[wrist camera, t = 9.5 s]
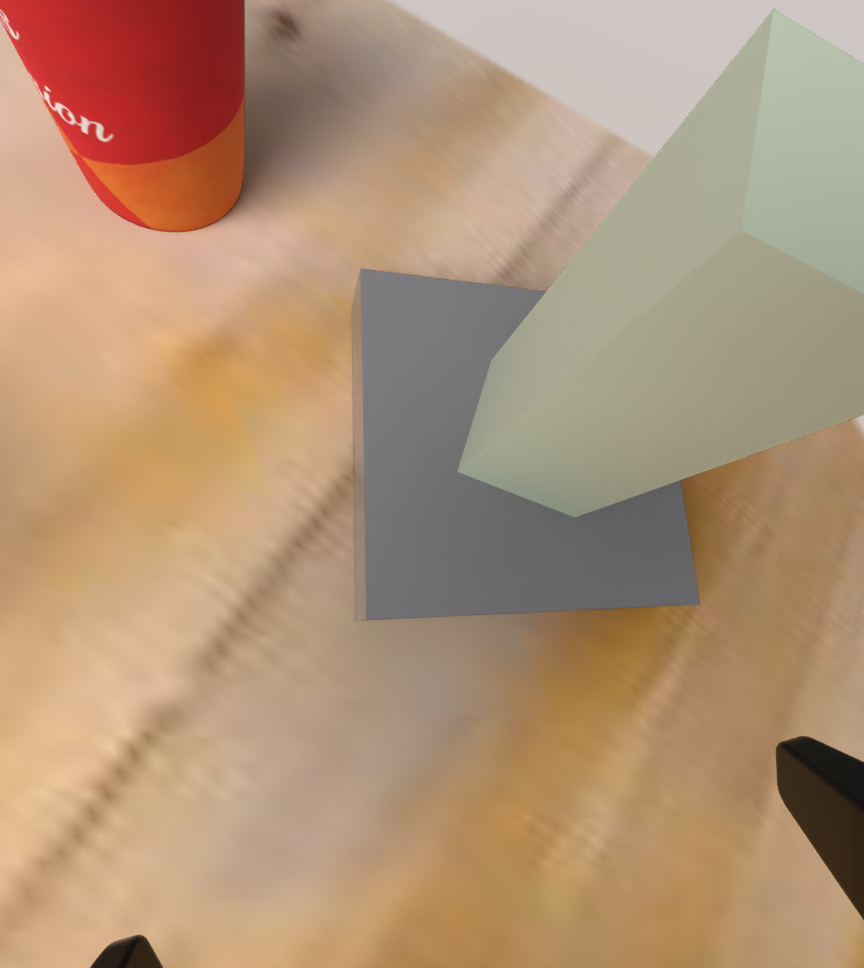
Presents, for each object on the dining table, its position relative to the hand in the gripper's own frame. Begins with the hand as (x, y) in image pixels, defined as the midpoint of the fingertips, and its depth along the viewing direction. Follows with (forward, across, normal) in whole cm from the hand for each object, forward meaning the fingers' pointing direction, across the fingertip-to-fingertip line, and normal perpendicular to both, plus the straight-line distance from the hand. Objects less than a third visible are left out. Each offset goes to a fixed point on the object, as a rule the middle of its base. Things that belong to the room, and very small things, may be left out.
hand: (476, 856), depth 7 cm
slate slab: (+15, -5, -1) cm, 16 cm away
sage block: (+13, -5, -2) cm, 14 cm away
